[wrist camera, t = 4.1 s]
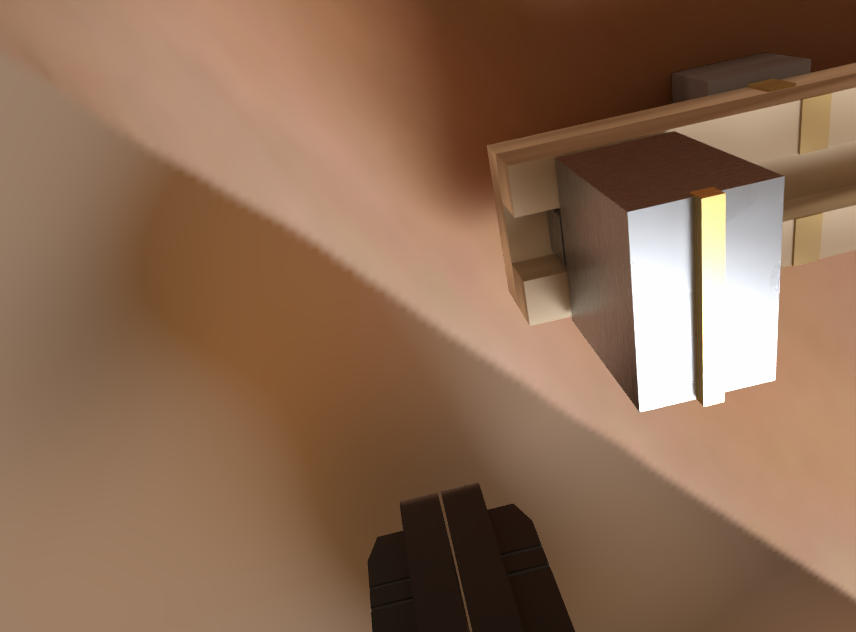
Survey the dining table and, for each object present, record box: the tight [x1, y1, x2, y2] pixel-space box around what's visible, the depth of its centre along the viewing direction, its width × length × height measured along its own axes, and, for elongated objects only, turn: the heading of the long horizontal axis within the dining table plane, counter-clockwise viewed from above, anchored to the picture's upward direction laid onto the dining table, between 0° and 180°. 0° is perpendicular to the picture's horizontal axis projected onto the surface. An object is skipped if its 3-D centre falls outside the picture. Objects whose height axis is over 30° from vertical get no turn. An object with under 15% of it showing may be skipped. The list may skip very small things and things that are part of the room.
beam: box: [487, 52, 856, 326], centre depth 27 cm, size 7×21×6 cm, turn 101°
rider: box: [547, 131, 785, 412], centre depth 21 cm, size 6×4×8 cm, turn 11°
